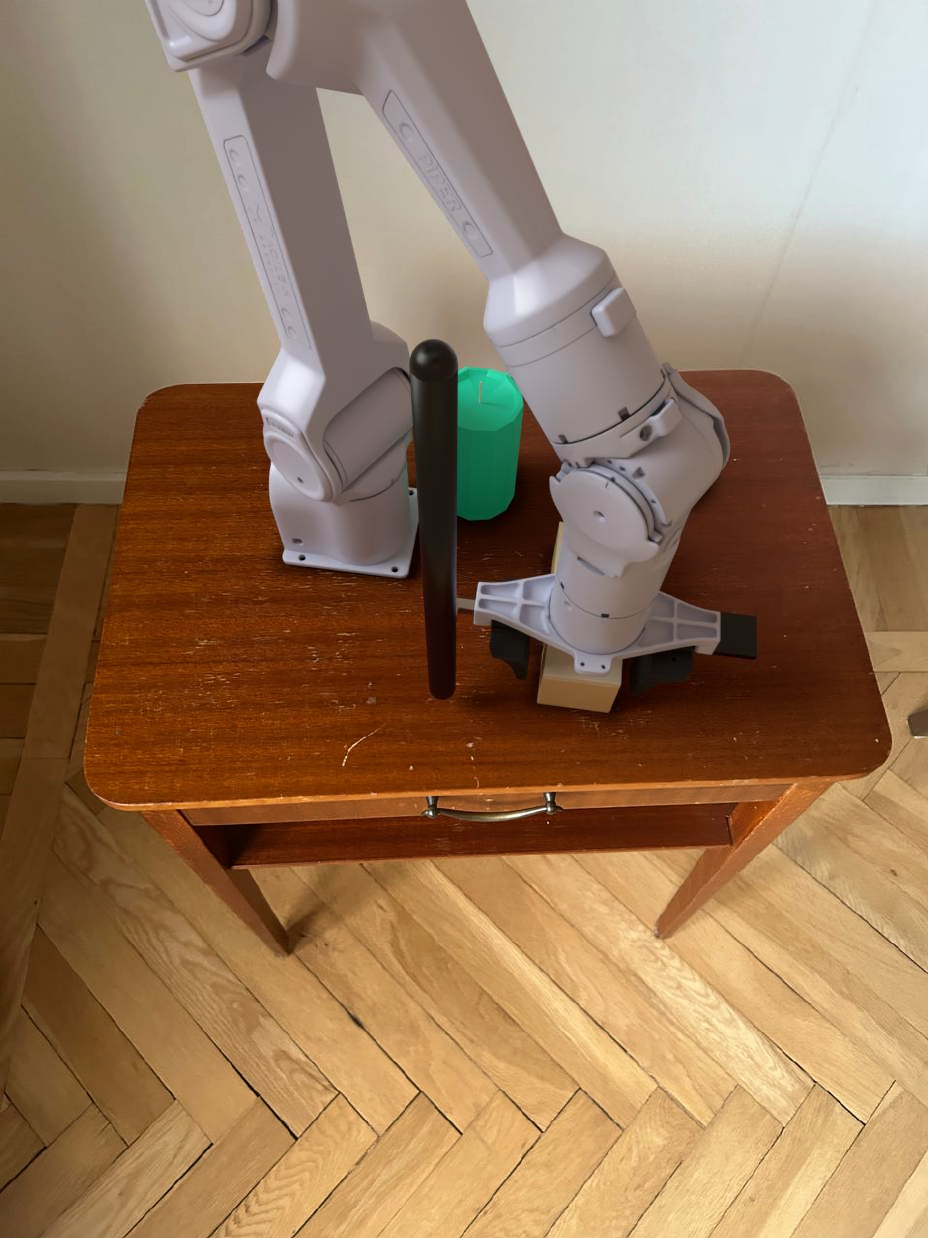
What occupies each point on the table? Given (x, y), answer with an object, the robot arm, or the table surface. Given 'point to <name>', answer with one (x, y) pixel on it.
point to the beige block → (575, 683)
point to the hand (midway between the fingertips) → (578, 674)
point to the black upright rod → (438, 519)
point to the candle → (487, 442)
